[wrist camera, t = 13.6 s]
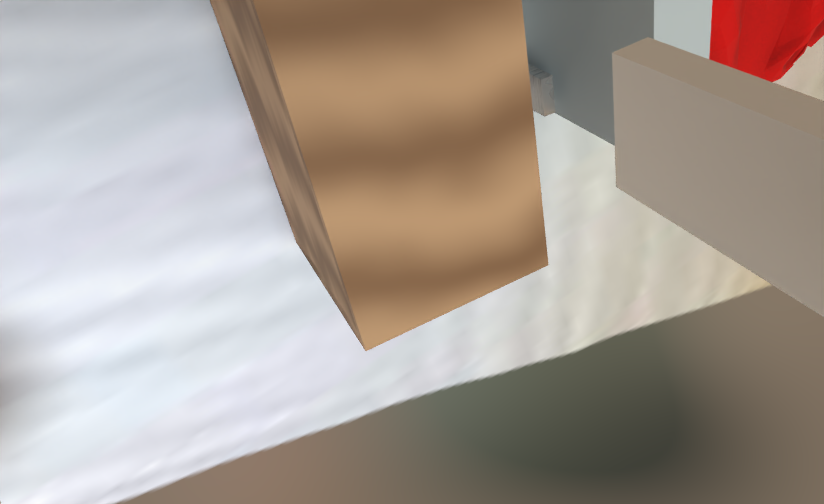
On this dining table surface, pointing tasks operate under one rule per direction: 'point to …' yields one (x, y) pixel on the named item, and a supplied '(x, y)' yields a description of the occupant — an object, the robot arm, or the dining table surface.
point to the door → (604, 47)
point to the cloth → (764, 34)
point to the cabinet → (396, 147)
